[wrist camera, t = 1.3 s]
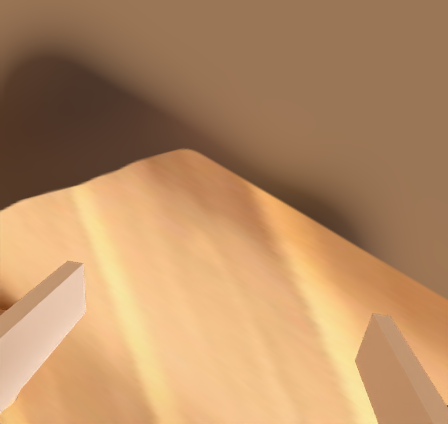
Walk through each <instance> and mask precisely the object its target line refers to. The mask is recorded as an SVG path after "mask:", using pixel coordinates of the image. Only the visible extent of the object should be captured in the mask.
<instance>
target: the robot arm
mask: <svg viewBox="0 0 448 424" xmlns="http://www.w3.org/2000/svg"><path fill="white" fill-rule="evenodd" d="M85 313H86V300H85V280H84V264H83V263H78V262H72V261H67V262H66V263H65V264H63V265H62V266H61V267H60V268H58V269H57V270H56V271H55V272H53V273H52V274H51V275H50V276H48V277H47V278H46V279H45V280H44V281H42V282H41V283H40V284H39V285H37V286H36V287H35V288H34V289H32V290H31V291H30V292H29V293H27V294H26V295H25V296H24V297H23V298H21V299H20V300H19V301H18V302H16V303H15V304H14V305H13V306H11V307H10V308H9V309H8V310H6V311H5V312H4V313H3V314H2V315H0V414H1V413H2V411H3V410H4V409H5V408H6V407H7V405H8V404H9V403H10V402H11V401H12V400H13V398H14V397H15V396H16V395H17V394H18V392H19V391H20V390H21V389H22V388H23V386H24V385H25V384H26V383H27V382H28V380H29V379H30V378H31V377H32V376H33V375H34V373H35V372H36V371H37V370H38V369H39V367H40V366H41V365H42V364H43V363H44V361H45V360H46V359H47V358H48V357H49V355H50V354H51V353H52V352H53V351H54V350H55V348H56V347H57V346H58V345H59V344H60V342H61V341H62V340H63V339H64V338H65V336H66V335H67V334H68V333H69V332H70V330H71V329H72V328H73V327H74V326H75V324H76V323H77V322H78V321H79V320H80V319H81V317H82V316H83V315H84V314H85ZM355 362H356V365H357V368H358V370H359V373H360V376H361V378H362V381H363V384H364V386H365V389H366V392H367V394H368V397H369V400H370V402H371V405H372V408H373V410H374V413H375V415H376V418H377V421H378V423H379V424H448V405H446V404H445V402H444V401H443V399H442V397H441V396H440V394H439V393H438V391H437V390H436V388H435V386H434V385H433V383H432V382H431V380H430V378H429V377H428V375H427V374H426V372H425V370H424V369H423V367H422V366H421V364H420V362H419V361H418V359H417V358H416V356H415V354H414V353H413V351H412V350H411V348H410V346H409V345H408V343H407V342H406V340H405V338H404V337H403V335H402V334H401V332H400V330H399V329H398V327H397V326H396V324H395V322H394V321H393V319H392V318H391V316H386V315H380V314H374V313H373V314H372V316H371V319H370V322H369V324H368V327H367V330H366V332H365V335H364V338H363V341H362V343H361V346H360V349H359V351H358V354H357V357H356V359H355Z"/></svg>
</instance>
